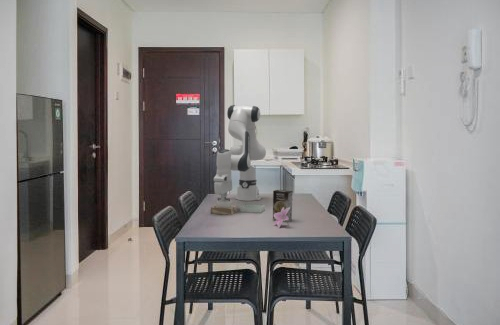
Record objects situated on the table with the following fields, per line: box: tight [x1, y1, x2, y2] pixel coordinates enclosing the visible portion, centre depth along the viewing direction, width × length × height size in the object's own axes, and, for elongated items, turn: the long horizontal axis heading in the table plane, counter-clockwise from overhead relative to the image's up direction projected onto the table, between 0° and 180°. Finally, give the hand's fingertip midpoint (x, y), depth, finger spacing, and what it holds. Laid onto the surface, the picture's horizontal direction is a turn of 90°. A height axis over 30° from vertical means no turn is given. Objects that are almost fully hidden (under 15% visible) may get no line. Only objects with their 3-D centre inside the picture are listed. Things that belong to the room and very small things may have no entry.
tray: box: [240, 204, 266, 214], centre depth 253 cm, size 10×12×3 cm
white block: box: [215, 197, 233, 208], centre depth 247 cm, size 5×8×9 cm, turn 72°
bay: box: [210, 205, 237, 216], centre depth 247 cm, size 10×12×4 cm
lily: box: [273, 207, 290, 229], centre depth 212 cm, size 12×12×10 cm
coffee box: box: [272, 189, 293, 223], centre depth 226 cm, size 9×6×16 cm
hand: (223, 200), depth 247 cm, fingers closed on white block
